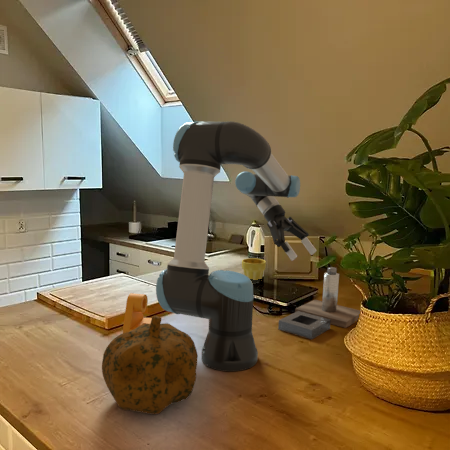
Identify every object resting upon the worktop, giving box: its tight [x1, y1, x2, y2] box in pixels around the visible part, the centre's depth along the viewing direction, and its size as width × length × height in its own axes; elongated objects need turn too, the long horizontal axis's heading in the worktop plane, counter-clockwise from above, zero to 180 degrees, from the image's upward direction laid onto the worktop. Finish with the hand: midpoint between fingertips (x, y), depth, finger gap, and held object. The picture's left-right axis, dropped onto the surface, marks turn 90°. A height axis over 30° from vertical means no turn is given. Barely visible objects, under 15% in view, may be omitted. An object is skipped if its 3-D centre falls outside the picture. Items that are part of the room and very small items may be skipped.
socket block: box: [277, 311, 331, 340], centre depth 144 cm, size 12×12×3 cm
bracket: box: [122, 292, 152, 334], centre depth 138 cm, size 11×7×12 cm, turn 168°
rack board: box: [294, 299, 361, 329], centre depth 157 cm, size 14×19×2 cm
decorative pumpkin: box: [101, 315, 198, 415], centre depth 99 cm, size 20×21×20 cm
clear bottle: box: [321, 266, 340, 312], centre depth 156 cm, size 5×5×15 cm
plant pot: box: [241, 257, 267, 280], centre depth 196 cm, size 10×10×10 cm
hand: (304, 255), depth 161 cm, fingers open, 13 cm apart
